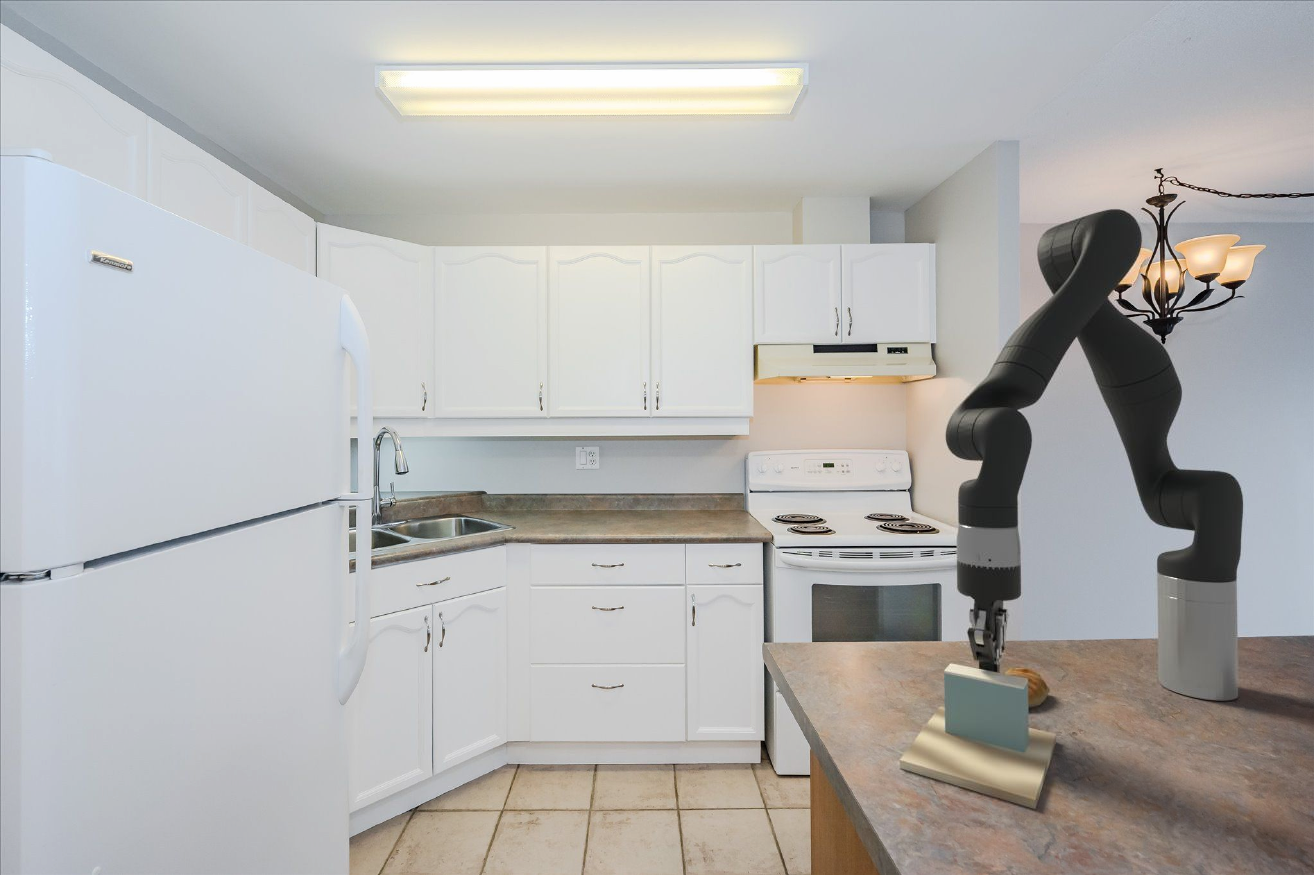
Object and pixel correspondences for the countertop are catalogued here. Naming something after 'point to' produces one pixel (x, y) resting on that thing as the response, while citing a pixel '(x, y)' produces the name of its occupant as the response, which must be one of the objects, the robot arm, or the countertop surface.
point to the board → (981, 762)
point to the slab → (987, 706)
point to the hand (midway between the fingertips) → (989, 689)
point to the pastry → (1032, 685)
